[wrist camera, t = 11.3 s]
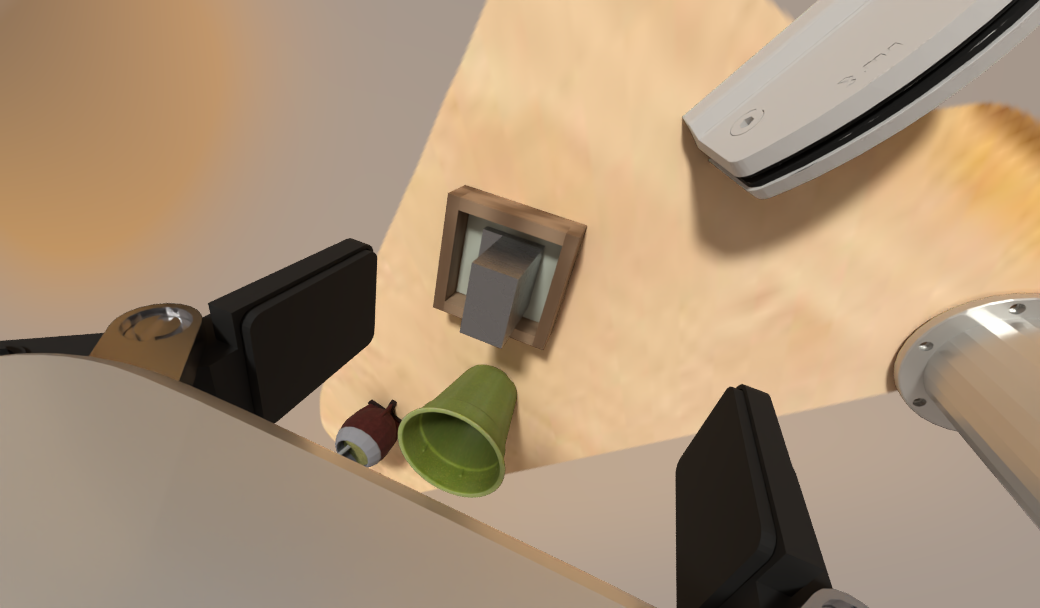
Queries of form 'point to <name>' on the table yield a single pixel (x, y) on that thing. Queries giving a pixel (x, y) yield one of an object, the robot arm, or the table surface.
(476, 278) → the grey block
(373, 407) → the mate gourd
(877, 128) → the grey rounded block
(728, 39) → the table surface
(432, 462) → the plant pot
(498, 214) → the square wooden tray
